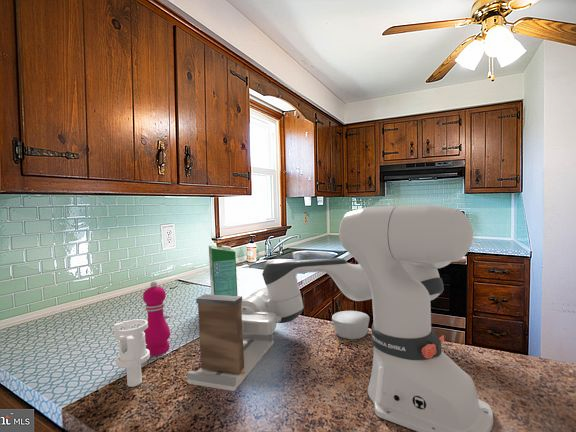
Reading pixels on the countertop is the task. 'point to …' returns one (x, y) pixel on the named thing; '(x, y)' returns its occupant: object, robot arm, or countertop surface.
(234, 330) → the block
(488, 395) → the countertop surface
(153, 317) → the pepper mill
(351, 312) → the ramekin
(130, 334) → the white cylindrical cage holder
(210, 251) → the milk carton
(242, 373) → the slide board
